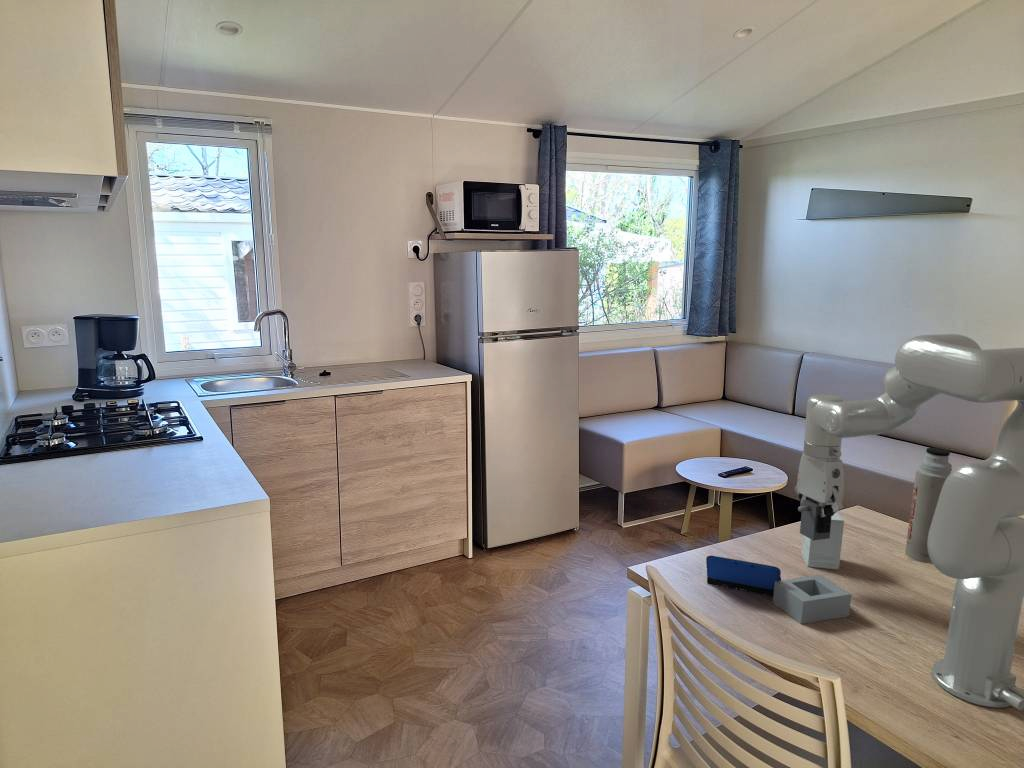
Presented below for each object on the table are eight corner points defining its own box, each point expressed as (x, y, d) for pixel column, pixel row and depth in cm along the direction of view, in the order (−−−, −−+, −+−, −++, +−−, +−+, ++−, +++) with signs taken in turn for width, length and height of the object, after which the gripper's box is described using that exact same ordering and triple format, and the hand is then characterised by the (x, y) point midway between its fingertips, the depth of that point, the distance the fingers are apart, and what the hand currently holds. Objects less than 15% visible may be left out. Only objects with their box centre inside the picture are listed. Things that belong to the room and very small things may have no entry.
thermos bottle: (903, 557, 170) (917, 450, 164) (907, 546, 176) (920, 443, 171) (940, 566, 165) (956, 456, 160) (942, 554, 171) (958, 448, 166)
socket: (849, 616, 142) (851, 594, 141) (800, 624, 138) (803, 601, 137) (818, 595, 150) (821, 574, 149) (772, 602, 147) (774, 581, 146)
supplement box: (839, 570, 162) (845, 520, 160) (806, 567, 164) (811, 518, 161) (831, 557, 169) (836, 509, 167) (800, 554, 171) (805, 506, 168)
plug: (829, 538, 152) (832, 504, 151) (804, 541, 150) (807, 507, 149) (815, 531, 156) (818, 498, 155) (791, 534, 154) (793, 500, 153)
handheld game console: (781, 581, 157) (784, 544, 155) (777, 608, 145) (781, 568, 143) (711, 568, 163) (714, 532, 161) (703, 592, 151) (706, 554, 149)
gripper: (864, 459, 143) (856, 540, 146) (809, 440, 159) (803, 513, 162) (835, 462, 141) (828, 544, 144) (782, 442, 157) (777, 516, 160)
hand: (815, 527), depth 153 cm, fingers closed on plug, 4 cm apart
